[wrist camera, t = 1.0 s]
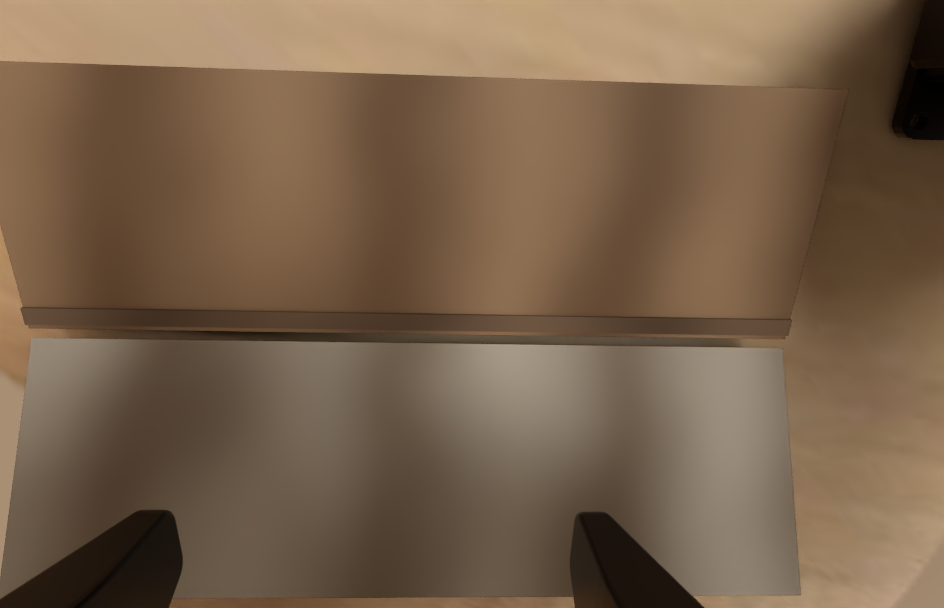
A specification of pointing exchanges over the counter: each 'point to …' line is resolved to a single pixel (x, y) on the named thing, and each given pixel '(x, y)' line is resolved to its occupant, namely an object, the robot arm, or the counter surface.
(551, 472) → the grey plank
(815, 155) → the walnut plank
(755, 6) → the counter surface
